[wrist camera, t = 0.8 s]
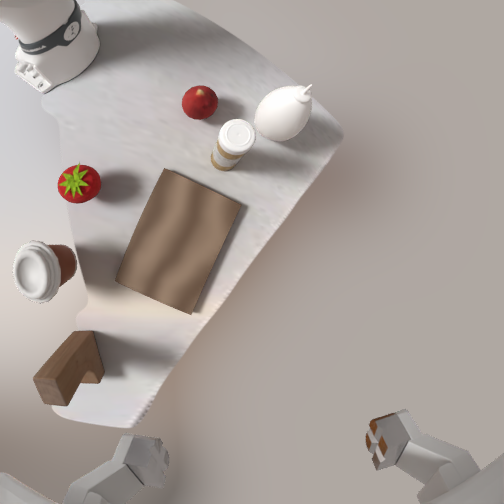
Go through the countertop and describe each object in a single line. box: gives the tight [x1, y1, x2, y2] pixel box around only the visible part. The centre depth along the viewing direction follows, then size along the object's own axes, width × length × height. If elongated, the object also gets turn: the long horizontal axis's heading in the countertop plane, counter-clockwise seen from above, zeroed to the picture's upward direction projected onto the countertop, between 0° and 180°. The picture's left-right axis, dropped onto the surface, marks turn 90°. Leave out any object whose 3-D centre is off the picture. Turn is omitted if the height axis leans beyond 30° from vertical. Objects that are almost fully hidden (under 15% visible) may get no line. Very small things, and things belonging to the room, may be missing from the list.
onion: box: [182, 86, 218, 120], centre depth 38 cm, size 6×6×8 cm
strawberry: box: [58, 163, 101, 203], centre depth 34 cm, size 6×8×10 cm
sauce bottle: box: [254, 85, 312, 141], centre depth 37 cm, size 8×8×18 cm
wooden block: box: [33, 331, 105, 406], centre depth 33 cm, size 9×4×18 cm, turn 4°
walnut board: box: [115, 168, 241, 315], centre depth 43 cm, size 14×20×2 cm
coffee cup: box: [13, 241, 77, 304], centre depth 33 cm, size 9×9×12 cm
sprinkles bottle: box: [211, 119, 256, 171], centre depth 37 cm, size 5×5×14 cm
